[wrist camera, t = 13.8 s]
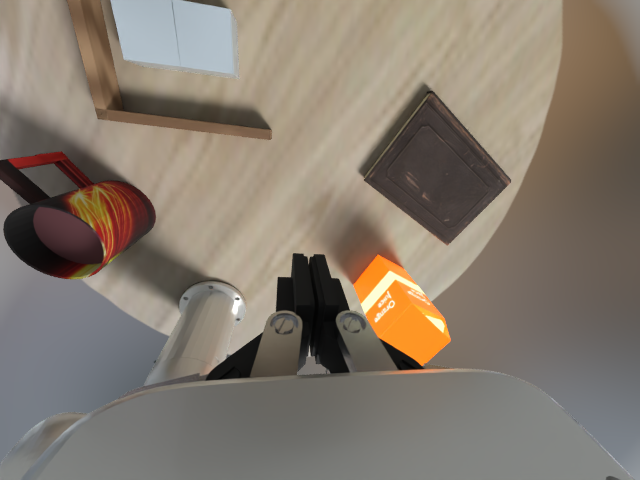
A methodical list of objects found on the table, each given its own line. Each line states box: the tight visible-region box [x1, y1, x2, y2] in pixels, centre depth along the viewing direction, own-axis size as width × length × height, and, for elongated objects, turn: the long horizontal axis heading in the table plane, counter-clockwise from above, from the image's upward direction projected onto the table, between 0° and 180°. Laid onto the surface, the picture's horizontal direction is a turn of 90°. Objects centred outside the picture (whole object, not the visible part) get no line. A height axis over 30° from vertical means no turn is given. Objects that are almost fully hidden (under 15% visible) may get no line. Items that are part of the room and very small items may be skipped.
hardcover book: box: [364, 91, 511, 246], centre depth 42 cm, size 16×23×2 cm
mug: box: [0, 152, 156, 279], centre depth 31 cm, size 10×14×12 cm
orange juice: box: [354, 255, 450, 366], centre depth 42 cm, size 8×9×20 cm
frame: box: [67, 0, 272, 140], centre depth 28 cm, size 20×21×4 cm
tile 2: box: [110, 0, 192, 73], centre depth 28 cm, size 6×6×4 cm
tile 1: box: [172, 0, 239, 79], centre depth 29 cm, size 6×6×4 cm
